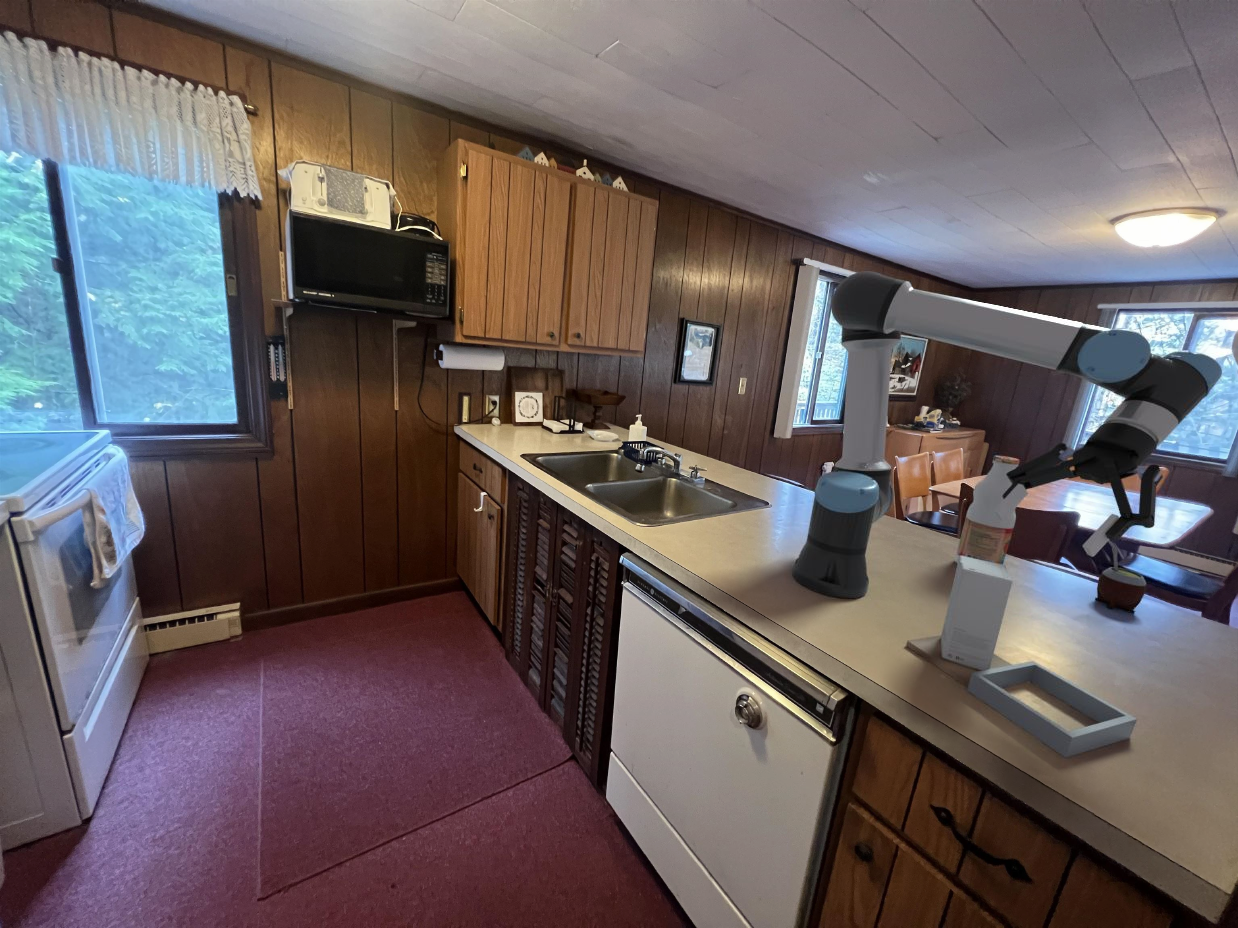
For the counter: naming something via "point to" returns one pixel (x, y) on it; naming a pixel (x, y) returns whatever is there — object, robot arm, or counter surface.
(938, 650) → the coaster
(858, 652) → the counter surface
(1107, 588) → the mate gourd
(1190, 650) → the counter surface
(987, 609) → the skincare box
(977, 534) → the fruit juice
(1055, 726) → the bin
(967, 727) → the counter surface
